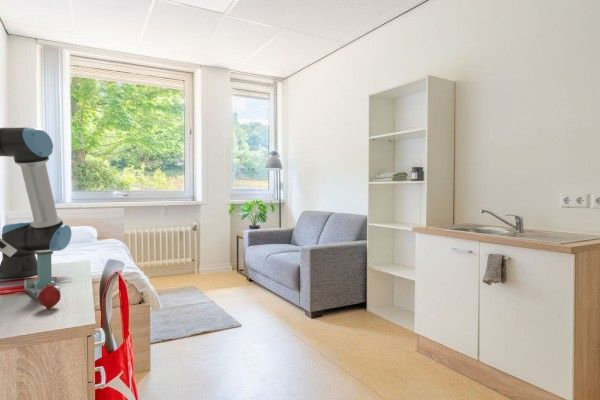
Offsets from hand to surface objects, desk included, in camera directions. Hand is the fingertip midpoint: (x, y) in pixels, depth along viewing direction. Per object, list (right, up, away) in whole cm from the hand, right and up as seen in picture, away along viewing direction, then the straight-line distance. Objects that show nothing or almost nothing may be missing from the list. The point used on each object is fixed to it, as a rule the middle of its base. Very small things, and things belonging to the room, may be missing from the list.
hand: (9, 251), depth 122 cm
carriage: (+6, -14, +8) cm, 17 cm away
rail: (+3, -17, +10) cm, 20 cm away
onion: (+17, -17, -6) cm, 25 cm away
